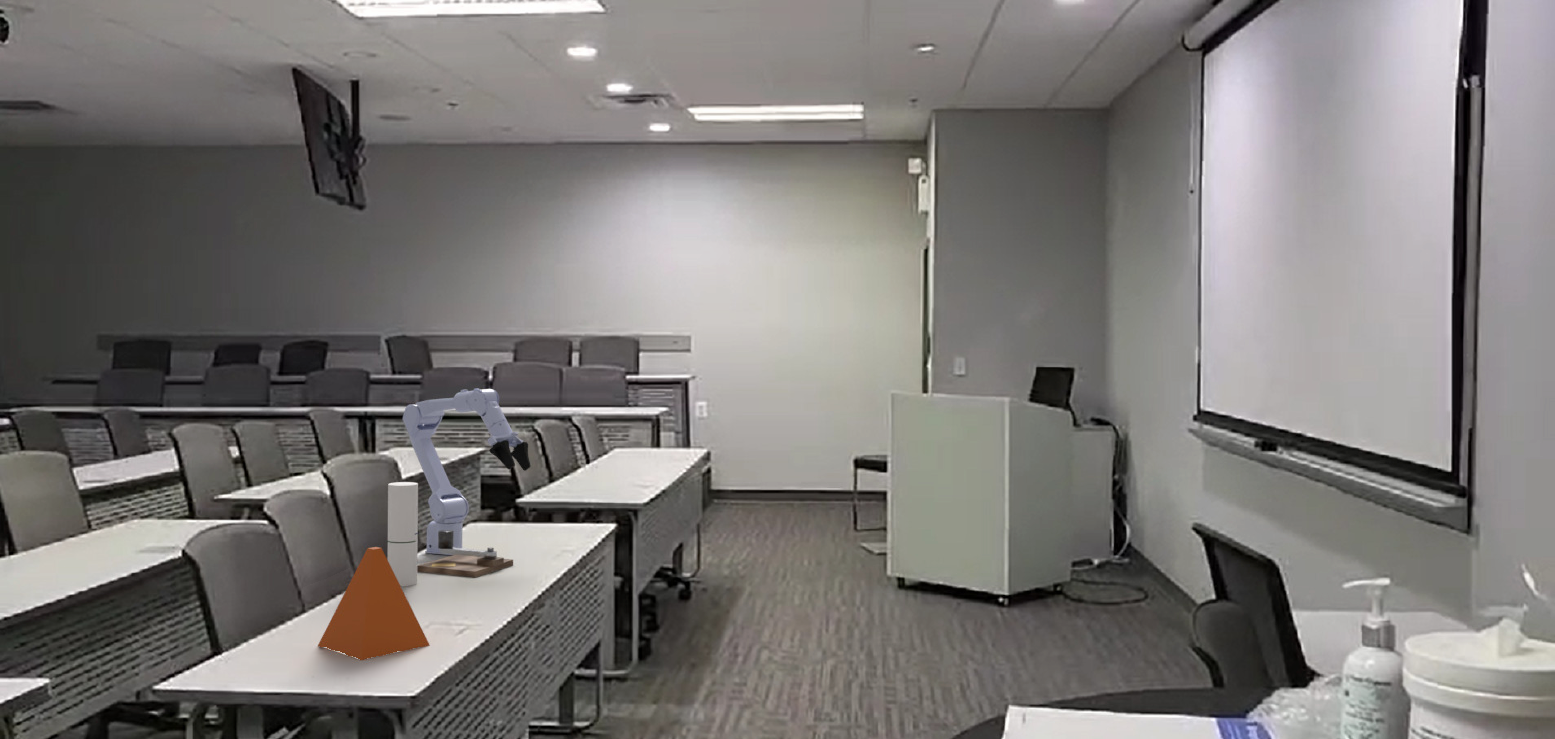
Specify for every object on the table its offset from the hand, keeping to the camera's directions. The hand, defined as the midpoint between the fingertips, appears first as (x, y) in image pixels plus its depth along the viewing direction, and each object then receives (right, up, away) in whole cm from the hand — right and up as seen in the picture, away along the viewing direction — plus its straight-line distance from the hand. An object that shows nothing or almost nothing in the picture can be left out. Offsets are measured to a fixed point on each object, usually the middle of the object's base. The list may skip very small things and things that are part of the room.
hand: (519, 468), depth 338 cm
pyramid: (-12, -29, -86) cm, 92 cm away
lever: (-13, -23, -5) cm, 27 cm away
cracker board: (-13, -26, -6) cm, 30 cm away
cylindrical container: (-24, -27, -27) cm, 45 cm away
